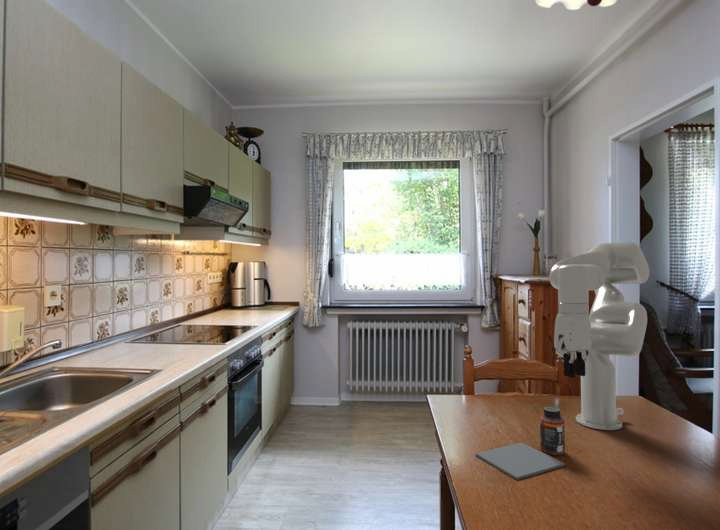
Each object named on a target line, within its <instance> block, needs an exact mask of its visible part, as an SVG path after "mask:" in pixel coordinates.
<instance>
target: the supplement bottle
mask: <svg viewBox="0 0 720 530" xmlns="http://www.w3.org/2000/svg"><path fill="white" fill-rule="evenodd" d="M565 427H566V426H565V419H564V418H563V417H562V416H561V408H558V407H555V406H545V407H543V414H542V415H541V416H540V419H539V430H540V431H539V435H540V437H539V439H540V442H539V443H540V444H539V445H540V446H539V447H540V450H541V452H542V453H545V454H547V455H549V456H557V457H558V456H559V457H560V456H562V455H564V454H565V452H566V434H565V433H566V431H565Z"/></svg>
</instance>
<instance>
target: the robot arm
mask: <svg viewBox="0 0 720 530" xmlns="http://www.w3.org/2000/svg"><path fill="white" fill-rule="evenodd" d="M548 276H549V282H550V284H551V286H552V288H554V289H555V290H557V294H558V295H557V296H558V298H557V302H558V303H557V306H558V307H557V309H558V313H557V314H556V317H555V321H554V335H553V345H554V348H555V351H554V352H555V354H556V355H558V356H559V357H560V359H561V361H562V362H563V376H565V377H566V378H567V377H568V378H571V379H574V378H576V376H580V404H581V405H580V407H581V408H580V409H581V410H580V413H578V414H576V415H575V420H576V422H577V423H578V424H580V425H582V426H584V427H588V428H591V429H595V430H599V431H600V430H602V431H617V430H621V429H622V428H623V422H622V421H621V420H620V419H618V416H619V415H623V414H625V410H624V409H623V408H622V407H617V395H616V394H617V393H616V388H617V387H616V368H615V366H614V364H613V361H612V360H611V359H610V358H609V357H608V355H612V356H620V357H637V356H638V355H640V353H641V351H642V349H643V344H644V339H645V336H646V335H645V334H646V332H647V331H646V330H647V325H648V315H647V314H648V313H647V310H646V308H645V306H643V304H641V303H638V302H632V301H625V296H624V294H623V293H622V292H621V290H619V289H618V288H617V287H616V286H615V285H616V284H617V285H641V284H645V283H646V282H647V281H648V280H649V277H650V266H649V264H648V261H647V259H646V256H645V254H644V252H643V250H642V249H641V248H640V246H639V244H636V243H635V242H631V241H625V242H623V241H622V242H606V243H605V242H604V243H599V244H597V245H595V246H594V247H592V248H591V249H590V250H589V251H587V252H585V253H581V254H579V255H578V254H577V255H573V256H571V257H567V258H563V259H561V260H559V261H557V262H556V263H555V264H554V265H553V266H552V268H551V269H550V272H549V275H548ZM590 291H594V294H595V298H594V300H593V303H592V306H591V308H590V305H589V304H590V299H589V296H590V295H589V292H590ZM568 354H569V355H568Z"/></svg>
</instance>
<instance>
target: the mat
mask: <svg viewBox="0 0 720 530" xmlns="http://www.w3.org/2000/svg"><path fill="white" fill-rule="evenodd" d="M475 456H476V457H477V458H479V459H480V460H482V461H484V462H486V463H487V464H489V465H490V466H493V467H494V468H496V469H497V470H499V471H501V472H503V473H504V474H506V475H508V476H509V477H511V478H513V479H514V480H516V481H519V480H521V479H525V478H527V477H529V478H530V477H532V476H535V475H538V474H542V473H546V472H549V471H551V470H552V471H553V470H555V469H558V468H562V467H565V466H566V463H565V462H564V461H561V460H559V459H557V458H554V457H553V456H552V455H550V454H546V453H545V452H543V451H540V450H538V449H536V448H534V447H532V446H529V445H528V444H526V443H523V442H522V441H521V442H517V443H513V444H509V445H505V446H501V447H495V448H493V449H489V450H485V451H480V452H476V453H475Z"/></svg>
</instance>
